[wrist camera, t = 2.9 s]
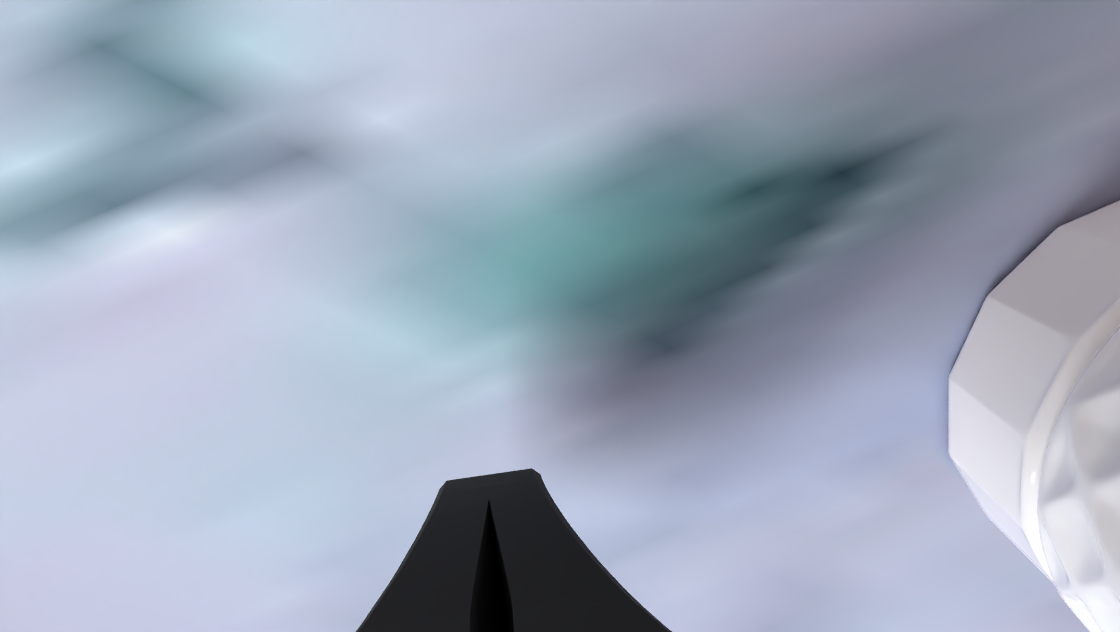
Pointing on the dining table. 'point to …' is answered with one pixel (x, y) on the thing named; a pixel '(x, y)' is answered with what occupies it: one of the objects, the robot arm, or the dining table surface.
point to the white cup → (1050, 412)
